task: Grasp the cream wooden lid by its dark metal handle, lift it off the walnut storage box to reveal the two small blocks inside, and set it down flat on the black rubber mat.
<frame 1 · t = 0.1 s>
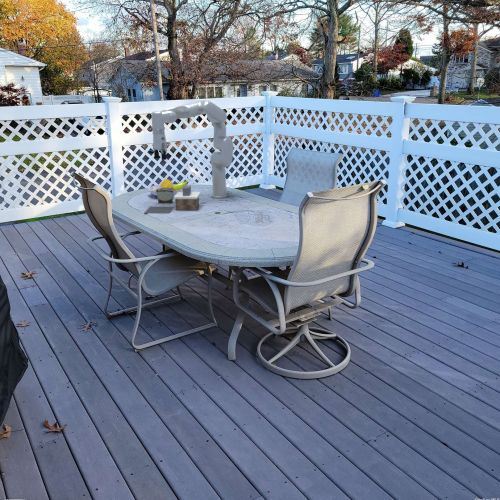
hand: (160, 158, 310), 31 cm above the table, tool pointing down, fingers open, 9 cm apart
lid: (187, 196, 312), point 8 cm above the table, touching storage box
rubber mat: (159, 210, 309), on the table
ochre block: (183, 208, 312), point 1 cm above the table, touching storage box
fruit bowl: (168, 196, 349), on the table
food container: (166, 203, 329), on the table
storage box: (187, 208, 314), on the table
sage block: (192, 206, 316), point 1 cm above the table, touching storage box
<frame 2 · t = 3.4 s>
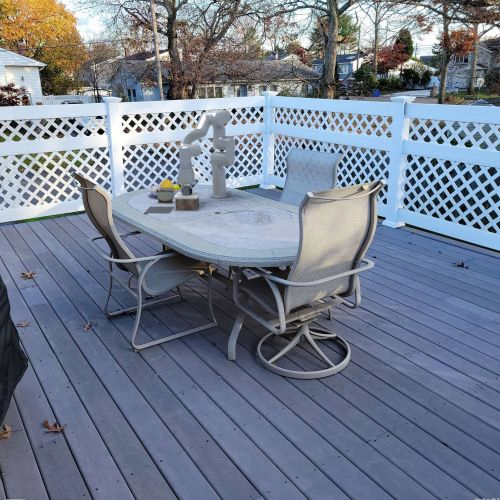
hand: (187, 194, 311), 10 cm above the table, tool pointing down, fingers closed on lid, 4 cm apart
lid: (187, 196, 312), point 8 cm above the table, touching gripper, storage box
everything else where it was.
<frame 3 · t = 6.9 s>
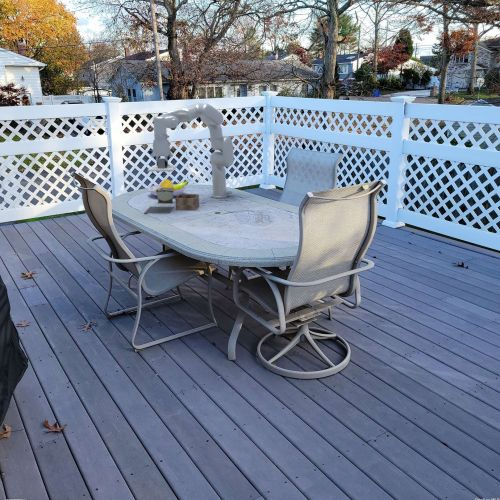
hand: (162, 167, 300), 28 cm above the table, tool pointing down, fingers closed on lid, 4 cm apart
lid: (162, 169, 301), point 26 cm above the table, touching gripper
everything else where it was.
when the fingers open (4 cm above the table, at t = 10.4 s): lid drops 2 cm, resting on rubber mat.
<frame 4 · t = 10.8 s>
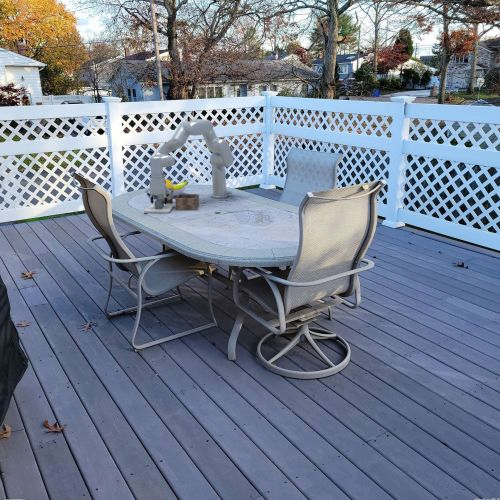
hand: (159, 203, 307), 5 cm above the table, tool pointing down, fingers open, 8 cm apart
lid: (159, 209, 308), point 1 cm above the table, touching rubber mat
everything else where it was.
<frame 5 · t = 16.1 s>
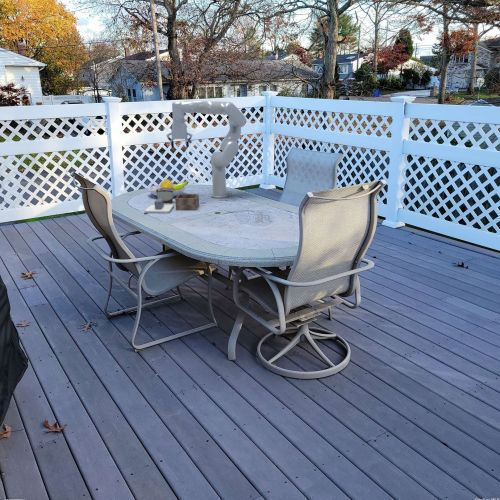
hand: (180, 147, 322), 36 cm above the table, tool pointing down, fingers open, 9 cm apart
nothing on the table moved.
at the end: lid inside the target area (0.1 cm from its centre), point 0.8 cm above the table; lid tilted 0°; the gripper is holding nothing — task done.
